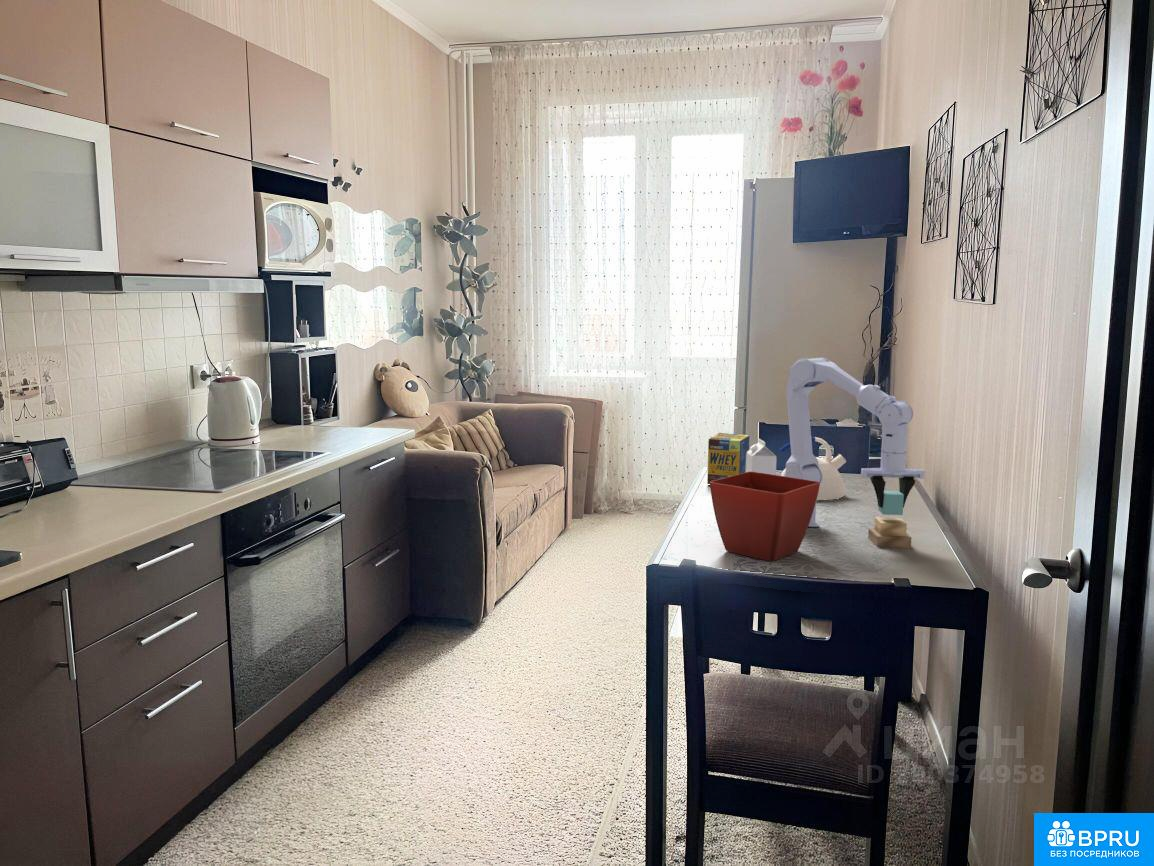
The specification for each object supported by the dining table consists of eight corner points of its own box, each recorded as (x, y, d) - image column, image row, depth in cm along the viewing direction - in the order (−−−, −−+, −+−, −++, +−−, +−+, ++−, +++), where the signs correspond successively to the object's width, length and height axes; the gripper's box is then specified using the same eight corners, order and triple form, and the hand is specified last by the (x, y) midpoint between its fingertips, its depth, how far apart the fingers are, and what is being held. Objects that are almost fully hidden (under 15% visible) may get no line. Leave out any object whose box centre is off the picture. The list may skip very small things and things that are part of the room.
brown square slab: (876, 548, 205) (877, 536, 204) (867, 539, 213) (868, 528, 212) (910, 549, 204) (911, 537, 204) (900, 540, 212) (901, 528, 212)
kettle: (854, 501, 254) (857, 441, 252) (784, 501, 255) (786, 441, 252) (835, 487, 274) (837, 432, 272) (770, 487, 275) (772, 432, 272)
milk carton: (768, 502, 253) (770, 438, 250) (774, 507, 246) (777, 442, 243) (744, 502, 252) (746, 438, 250) (750, 507, 245) (752, 442, 243)
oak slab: (880, 535, 205) (880, 523, 205) (874, 528, 211) (875, 517, 211) (906, 536, 205) (906, 524, 204) (899, 529, 211) (900, 518, 210)
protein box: (706, 486, 276) (708, 438, 274) (718, 477, 290) (719, 432, 288) (738, 488, 272) (740, 440, 270) (748, 480, 286) (750, 434, 284)
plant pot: (819, 551, 201) (822, 480, 198) (779, 568, 187) (782, 493, 184) (748, 536, 213) (750, 470, 211) (705, 552, 199) (707, 481, 197)
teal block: (883, 514, 206) (884, 494, 205) (878, 510, 210) (879, 490, 209) (902, 515, 205) (903, 494, 204) (897, 510, 210) (898, 490, 209)
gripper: (867, 453, 202) (864, 509, 204) (930, 454, 201) (926, 511, 203) (859, 449, 209) (857, 503, 211) (920, 450, 208) (917, 504, 210)
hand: (890, 506), depth 207 cm, fingers closed on teal block, 4 cm apart
